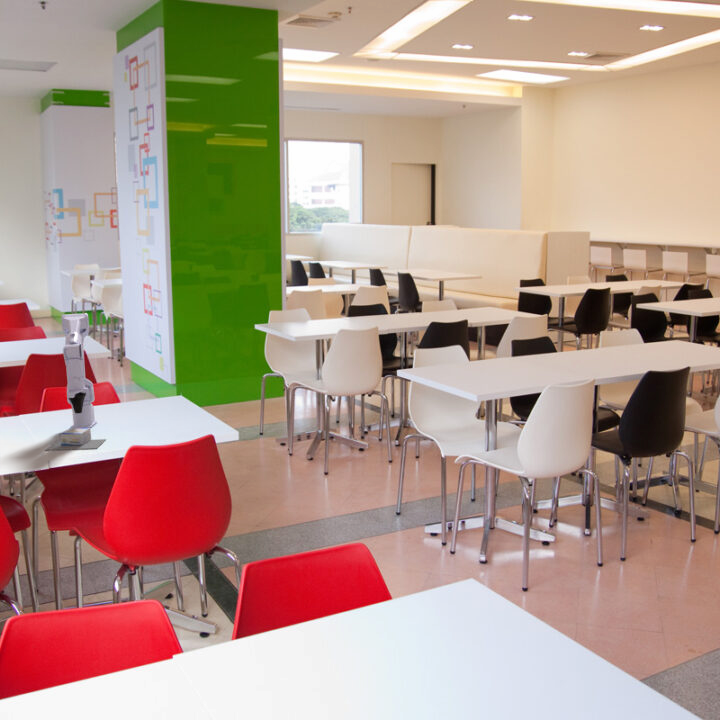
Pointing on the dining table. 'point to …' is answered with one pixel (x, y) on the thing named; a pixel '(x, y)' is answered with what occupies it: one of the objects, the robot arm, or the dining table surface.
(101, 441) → the mat
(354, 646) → the dining table surface
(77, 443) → the medicine box
